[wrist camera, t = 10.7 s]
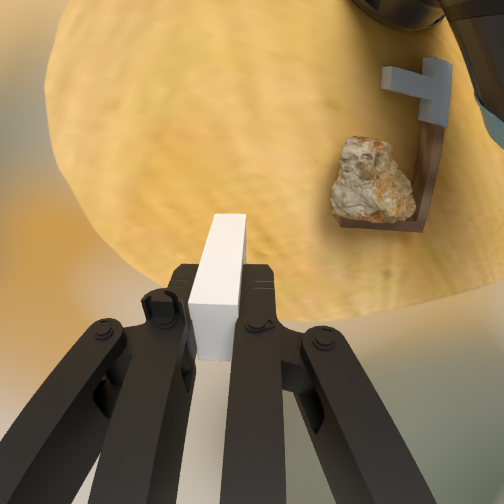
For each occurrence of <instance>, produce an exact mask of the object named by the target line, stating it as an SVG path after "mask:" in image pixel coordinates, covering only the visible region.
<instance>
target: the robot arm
mask: <svg viewBox="0 0 504 504" xmlns="http://www.w3.org/2000/svg"><path fill="white" fill-rule="evenodd" d="M352 1H353V2H354V3H355V4H356V5H357V6H358V7H359V8H360V9H361V10H362V11H363V12H364V13H366V14H367V15H368V16H370V17H371V18H373V19H374V20H376V21H378V22H379V23H381V24H383V25H386V26H388V27H390V28H393V29H397V30H401V31H420V30H424V29H428V28H431V27H433V26H435V25H437V24H438V23H439V22H441V21H442V19H443V18H444V17H445V16H446V18H447V20H448V23H449V25H450V27H451V29H452V31H453V34H454V36H455V38H456V41H457V43H458V45H459V48H460V50H461V53H462V55H463V58H464V61H465V64H466V66H467V69H468V72H469V75H470V78H471V82H472V85H473V88H474V96H475V100H476V102H477V104H478V105H479V107H480V110H481V113H482V117H483V120H484V124H485V127H486V129H487V132H488V133H489V135H490V137H491V138H492V139H493V140H494V141H495V142H496V143H497V144H498V145H499V146H500V147H501V148H502V149H504V0H352ZM141 303H142V307H143V310H144V313H145V317H146V322H145V323H144V324H141V325H137V326H131V327H125V328H123V327H122V325H121V323H120V322H119V321H117V320H115V319H112V318H105V319H101V320H98V321H96V322H94V323H93V324H92V325H91V326H90V327H89V328H88V329H87V330H86V331H85V332H84V334H83V335H82V336H81V337H80V338H79V340H78V341H77V342H76V343H75V344H74V345H73V346H72V348H71V349H70V350H69V351H68V352H67V354H66V355H65V356H64V357H63V359H62V360H61V361H60V363H59V364H58V365H57V366H56V367H55V368H54V370H53V371H52V372H51V373H50V375H49V376H48V377H47V379H46V380H45V381H44V382H43V384H42V385H41V386H40V388H39V389H38V390H37V391H36V393H35V394H34V395H33V397H32V398H31V399H30V401H29V402H28V403H27V405H26V406H25V407H24V409H23V410H22V411H21V413H20V414H19V416H18V417H17V418H16V420H15V421H14V423H13V424H12V425H11V427H10V428H9V430H8V431H7V433H6V434H5V435H4V437H3V438H2V440H1V441H0V504H71V503H72V502H73V500H74V498H75V496H76V494H77V493H78V491H79V489H80V487H81V486H82V484H83V482H84V480H85V479H86V477H87V475H88V473H89V472H90V470H91V468H92V466H93V465H94V463H95V461H96V460H97V458H98V456H99V454H100V453H101V454H100V457H99V461H98V465H97V468H96V472H95V476H94V480H93V483H92V487H91V492H90V496H89V500H88V504H176V499H177V491H178V484H179V477H180V470H181V463H182V456H183V450H184V443H185V437H186V430H187V424H188V418H189V412H190V405H191V400H192V394H193V388H194V382H195V376H196V366H195V358H196V353H197V356H198V360H208V361H229V362H232V363H231V374H230V386H229V396H228V409H227V420H226V431H225V443H224V455H223V468H222V481H221V493H220V504H286V478H285V477H286V475H285V447H284V446H285V445H284V421H283V397H282V389H283V390H286V391H290V392H293V393H294V396H295V399H296V401H297V404H298V407H299V409H300V412H301V415H302V417H303V420H304V422H305V425H306V427H307V430H308V433H309V435H310V438H311V441H312V443H313V445H314V448H315V451H316V453H317V456H318V458H319V461H320V464H321V466H322V469H323V471H324V474H325V476H326V479H327V481H328V484H329V487H330V489H331V492H332V494H333V496H334V499H335V502H336V504H437V503H436V501H435V499H434V497H433V495H432V493H431V491H430V489H429V487H428V485H427V483H426V481H425V480H424V478H423V476H422V474H421V472H420V470H419V468H418V466H417V464H416V462H415V460H414V458H413V457H412V455H411V453H410V451H409V449H408V448H407V445H406V444H405V442H404V440H403V438H402V436H401V434H400V433H399V431H398V429H397V428H396V426H395V424H394V422H393V420H392V418H391V416H390V415H389V413H388V411H387V410H386V408H385V406H384V404H383V402H382V400H381V399H380V397H379V395H378V393H377V392H376V390H375V388H374V387H373V385H372V383H371V382H370V380H369V378H368V376H367V375H366V373H365V371H364V369H363V368H362V366H361V364H360V363H359V361H358V359H357V358H356V356H355V354H354V353H353V351H352V349H351V347H350V346H349V344H348V342H347V341H346V339H345V337H344V336H343V335H342V334H341V333H340V332H339V331H338V330H336V329H334V328H332V327H328V326H315V327H313V328H310V329H308V330H307V331H306V332H305V333H300V332H296V331H293V330H290V329H288V328H286V327H284V326H283V325H282V324H281V323H280V322H279V321H278V319H277V316H276V304H275V289H274V273H273V271H272V269H271V268H270V267H269V265H268V264H246V214H215V216H214V219H213V222H212V225H211V228H210V232H209V235H208V238H207V241H206V244H205V248H204V251H203V254H202V257H201V261H200V264H181V265H180V266H179V267H178V268H177V269H175V270H174V272H173V274H172V277H171V280H170V282H169V284H168V287H167V288H161V289H156V290H153V291H150V292H149V293H147V294H146V295H144V297H143V298H142V299H141Z"/></svg>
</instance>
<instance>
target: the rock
mask: <svg viewBox="0 0 504 504" xmlns="http://www.w3.org/2000/svg"><path fill="white" fill-rule="evenodd" d="M394 151H395V148H394V146H393V145H392V144H390V143H386V142H385V141H380V140H376V139H370V138H367V137H366V138H364V137H357V136H353V137H351V138H347V139H346V143H345V144H344V145H343V147H342V151H341V159H340V160H339V162H340V163H341V167H340V170H339V171H338V174H337V176H338V177H337V180H336V181H335V183H334V184H333V186H332V188H331V198H330V201H331V205H332V206H333V207H332V211H331V214H333V215H338V216H341V217H345V218H348V219H353V220H367V221H369V222H371V223H386V222H389V223H396V222H397V221H405V220H406V218H409V217H411V216H412V215H413V213H414V212H415V210H416V204H415V201H414V198H413V195H412V194H411V193H412V191H413V189H412V187H411V182H410V181H409V180H408V179H407V177H406V175H404V174H403V173H402V171H401V170H398V164H397V163H396V162H395V161H394V159H393V158H392V155H393V153H394Z"/></svg>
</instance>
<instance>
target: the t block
mask: <svg viewBox="0 0 504 504" xmlns="http://www.w3.org/2000/svg"><path fill="white" fill-rule="evenodd" d="M451 81H452V64H451V63H449V62H446V61H444V60H441V59H439V58H436V57H427V58H423V64H422V75H421V74H418V73H415V72H412V71H408V70H405V69H401V68H397V67H394V66H388V67H382V79H381V89H384V90H388V91H392V92H397V93H401V94H405V95H409V96H412V97H416V98H420V105H419V115H418V120H421V121H425V122H428V123H432V124H435V125H439V126H443V127H446V128H447V122H448V114H449V105H450V95H451Z"/></svg>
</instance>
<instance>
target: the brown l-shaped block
mask: <svg viewBox="0 0 504 504" xmlns="http://www.w3.org/2000/svg"><path fill="white" fill-rule="evenodd" d="M444 129H445V127H442V126H439V125H435V124H432V123H428V122H425V121H422V129H421V136H420V143H419V149H418V155H417V161H416V167H415V172H414V177H413V182H412V189H413V191H412V193H411V194H412V195H413V198H414V201H415V204H416V210H415V212H414V213H413V215H412V216H411V217H409V218H406V220H405V221H397V222H396V223H389V222H386V223H371V222H369V221H367V220H353V219H348V218H345V217H341V216H338V215H334V216H335V218H336V220H337V221H338V223H339V225H340V227H347V228H364V229H380V230H394V231H408V232H421V233H422V232H423V228H424V225H425V221H426V217H427V214H428V210H429V206H430V202H431V198H432V194H433V189H434V185H435V180H436V175H437V171H438V165H439V160H440V155H441V149H442V143H443V136H444Z"/></svg>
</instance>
